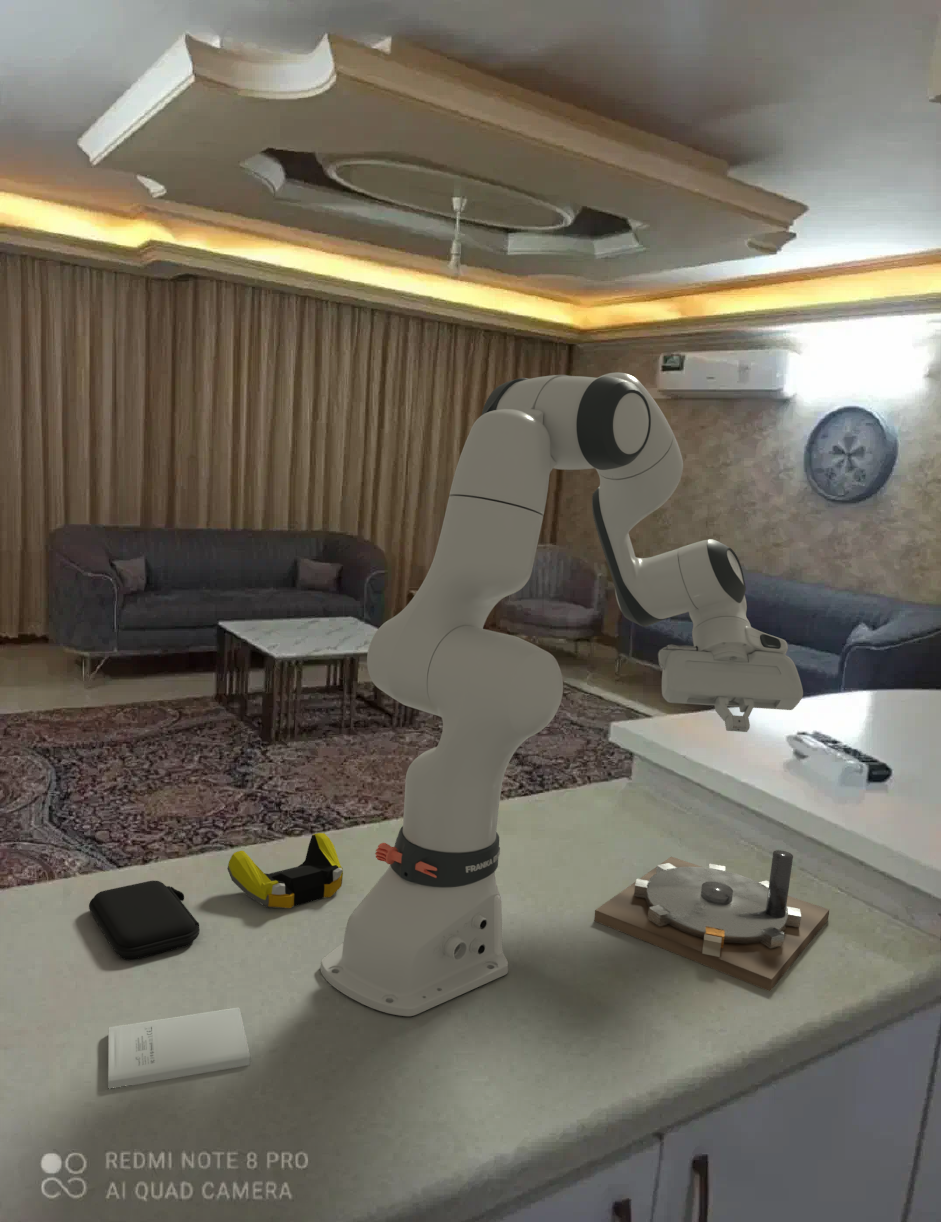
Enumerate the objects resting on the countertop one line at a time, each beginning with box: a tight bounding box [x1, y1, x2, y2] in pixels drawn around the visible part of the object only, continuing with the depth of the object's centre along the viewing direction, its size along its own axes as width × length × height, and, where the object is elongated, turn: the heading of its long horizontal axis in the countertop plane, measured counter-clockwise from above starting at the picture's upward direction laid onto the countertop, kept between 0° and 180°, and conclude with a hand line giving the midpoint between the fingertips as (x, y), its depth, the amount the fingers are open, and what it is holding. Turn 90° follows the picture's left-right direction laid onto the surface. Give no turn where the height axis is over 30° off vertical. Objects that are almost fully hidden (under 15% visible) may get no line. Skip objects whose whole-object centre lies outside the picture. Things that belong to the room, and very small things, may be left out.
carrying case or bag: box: [88, 880, 201, 961], centre depth 109 cm, size 11×3×15 cm
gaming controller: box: [227, 832, 344, 909], centre depth 120 cm, size 15×6×10 cm
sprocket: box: [634, 849, 801, 948], centre depth 119 cm, size 20×20×10 cm
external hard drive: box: [107, 1007, 251, 1089], centre depth 87 cm, size 2×8×12 cm
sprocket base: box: [593, 856, 830, 992], centre depth 120 cm, size 23×23×3 cm
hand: (738, 729), depth 130 cm, fingers closed
